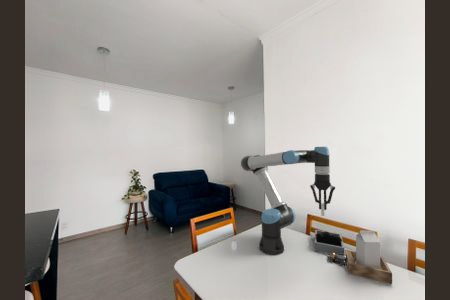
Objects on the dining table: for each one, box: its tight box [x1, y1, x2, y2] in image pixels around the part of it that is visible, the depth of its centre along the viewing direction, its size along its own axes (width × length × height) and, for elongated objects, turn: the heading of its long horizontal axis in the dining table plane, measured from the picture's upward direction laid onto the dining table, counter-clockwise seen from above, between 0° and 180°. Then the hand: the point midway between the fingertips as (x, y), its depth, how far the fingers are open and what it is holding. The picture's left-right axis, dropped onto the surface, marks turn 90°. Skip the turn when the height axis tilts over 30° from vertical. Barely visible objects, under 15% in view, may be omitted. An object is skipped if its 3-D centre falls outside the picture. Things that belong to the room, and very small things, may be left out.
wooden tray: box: [344, 248, 393, 285], centre depth 95 cm, size 16×15×5 cm
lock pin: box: [331, 252, 355, 263], centre depth 102 cm, size 10×4×4 cm, turn 63°
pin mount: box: [327, 253, 346, 266], centre depth 103 cm, size 8×6×4 cm
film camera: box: [314, 231, 343, 247], centre depth 120 cm, size 15×10×9 cm, turn 70°
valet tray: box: [314, 229, 345, 256], centre depth 120 cm, size 16×20×5 cm
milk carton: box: [355, 230, 381, 269], centre depth 95 cm, size 7×7×19 cm
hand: (322, 215), depth 106 cm, fingers closed
